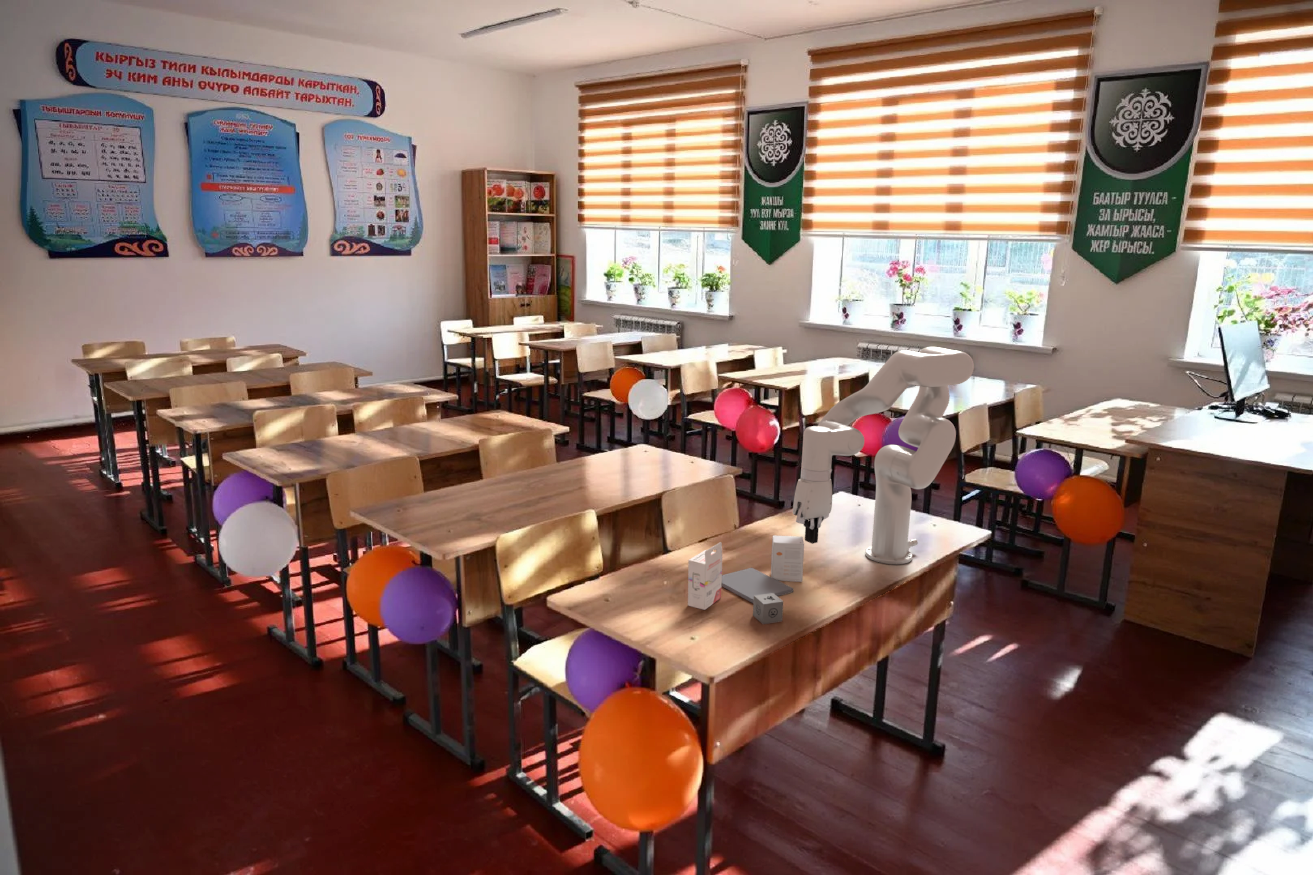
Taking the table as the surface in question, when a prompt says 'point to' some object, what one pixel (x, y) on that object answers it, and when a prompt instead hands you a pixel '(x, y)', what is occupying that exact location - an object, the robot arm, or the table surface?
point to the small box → (787, 558)
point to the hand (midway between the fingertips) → (811, 541)
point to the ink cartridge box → (705, 578)
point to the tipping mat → (753, 584)
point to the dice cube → (768, 608)
